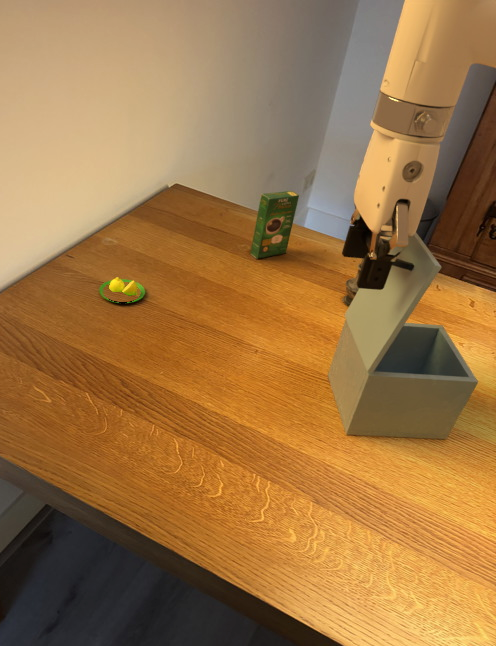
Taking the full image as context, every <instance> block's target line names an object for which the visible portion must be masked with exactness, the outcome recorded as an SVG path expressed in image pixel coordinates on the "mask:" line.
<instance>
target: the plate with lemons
mask: <svg viewBox="0 0 496 646" xmlns="http://www.w3.org/2000/svg"><path fill="white" fill-rule="evenodd" d="M124 282H129V284H128V285H127V286H126V287H125V284H124ZM107 284H108V285H109V284H110V285H109V289H110V290H111V291H112V292H123V293H124V294H126V295H128V296H132V295H135V296H136V295H137V294H138V293H137V289H138V288H139V289H140V290H141V291H140V292H141V294H140V296H139V298H138V299H136V300H134V301H132V302H127V303H126V304H129V303H134V302H138V301H139V300H141V299H142V298H144V296H145V295H146V289H145V287H144V286H143V285H142V284H141V283H139V282H137V281H135V280H132V279H128V278H127V279H125V278H120V277H118V276H116V277H115V278H113V279H109V280H108V281H105V282H103V283H102V284H101V285H100V286H99V294H100V296H101V297H102V298H103V299H105V300H107V301H110V302H112V303H115V302H114V301H111V300H109V299H108V298H106V297H105V296H104V295H103V288H104V287H105V286H106V285H107ZM137 287H138V288H137ZM116 303H117V304H120V303H119V302H116Z"/></svg>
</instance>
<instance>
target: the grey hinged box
mask: <svg viewBox="0 0 496 646" xmlns="http://www.w3.org/2000/svg"><path fill="white" fill-rule="evenodd" d="M327 378H328V381H329V385H330V388H331V392H332V394H333V398H334V400H335V401H334V402H335V404H336V408H337V410H338V413H339V417H340V420H341V423H342V427H343V430H344V432H345V435H347V436H365V437H366V436H367V437H369V436H370V437H386V438H387V437H388V438H389V437H390V438H406V439H407V438H410V439H431V440H447V439H448V437H449V435H450V434H451V432H452V430H453V429H454V427H455V425H456V423H457V421H458V420H459V418H460V415H461V414H462V412H463V410H464V409H465V408H466V405H467V403H468V401H469V400H470V398H471V396H472V394H473V392H474V391H475V389H476V387H477V385H478V383H479V381H478V379H477V377H476V376H475V375H474V373H473V372H472V370H471V368H470V366H469V365H468V364H467V361H466V360H465V359H464V357H463V355H462V354H461V352H460V350H459V349H458V348H457V346H456V345H455V343H454V341H453V340H452V337H450V335H449V333H448V332H447V330H446V329H445V326H444V325H442V324H429V323H415V322H406V323H405V324H404V326H403V327H402V329H401V330H400V332H399V333H398V335H397V336H396V338H395V339H394V341H393V342H392V344H391V345H390V347H389V349H388V350H387V352H386V353H385V355H384V356H383V358H382V359H381V361H380V362H379V364H378V365H377V367H376V368H375V370H374V371H373V373H371V372H367V370H366V367H365V365H364V362H363V360H362V357H361V355H360V352H359V350H358V348H357V345H356V343H355V340H354V338H353V335H352V333H351V330H350V328H349V325H348V323H347V320H346V319H345V320H344V323H343V325H342V330H341V333H340V335H339V339H338V342H337V345H336V348H335V351H334V353H333V357H332V360H331V364H330V367H329V370H328V373H327Z"/></svg>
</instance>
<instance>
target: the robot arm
mask: <svg viewBox="0 0 496 646" xmlns="http://www.w3.org/2000/svg"><path fill="white" fill-rule="evenodd" d="M402 5H403V6H402V9H401V13H400V16H399V18H398V23H397V27H396V31H395V34H394V37H393V41H392V44H391V49H390V53H389V56H388V58H387V63H386V67H385V71H384V73H383V77H382V81H381V84H380V88H379V91H378V95H377V99H376V102H375V106H374V110H373V113H372V116H371V121H370V124H369V126H370V127H371V128H372V129H373V132H372V135H371V137H370V140H369V142H368V146H367V148H366V152H365V155H364V157H363V160H362V163H361V167H360V171H359V173H358V177H357V181H356V185H355V189H354V192H353V203H354V211H353V213H352V214H351V217H350V225H349V227H348V230H347V233H346V237H345V240H344V244H343V248H342V251H341V254H342V257H344V258H352V259H361V260H362V259H364V262H363V265H362V268H361V271H360V274H359V277H358V280H357V286H358V288H362V289H375V290H382V289H383V288H384V286H385V284H386V281H387V278H388V275H389V272H390V270H391V267H392V264H393V262H395V261H396V259H397V256H398V255H399V254H400V253H401V251H402V250H403V249H405V248H406V247H407V245H408V237H412V236H413V235H414V234H415V232H416V233H417V230H418V227H419V224H420V222H421V219H422V215H423V213H424V209H425V206H426V203H427V200H428V198H429V194H430V191H431V187H432V184H433V180H434V177H435V172H436V170H437V169H436V168H437V164H438V159H439V154H440V149H441V144H440V143H441V142H443V141H444V138H445V136H446V133H447V131H448V127H449V125H450V122H451V119H452V117H453V114H454V111H455V108H456V105H457V102H458V101H459V98H460V96H461V95H460V94H461V92H462V90H463V87H464V85H465V82H466V79H467V76H468V73H469V70H470V67H471V66H473V65H477V64H478V65H482V66H486V67H490V68H493V69H496V0H404V1H403V4H402ZM382 225H386V226H392V231H384V230H381V227H382ZM367 230H371V231H372V232H373V233H372V240H371V247H370V254H369V255H368V251H367V249H366V247H365V245H364V244H363V242H362V235H363V233H364V232H365V231H367ZM380 236H382V237H391V239H390V240H389V242H388V243H384V244H383V245H381V246H380V247H379V243H380Z"/></svg>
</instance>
